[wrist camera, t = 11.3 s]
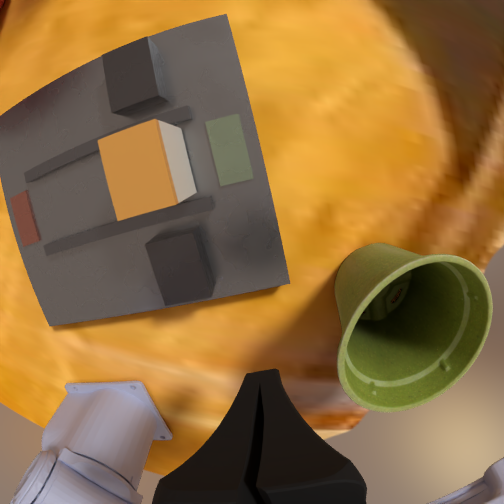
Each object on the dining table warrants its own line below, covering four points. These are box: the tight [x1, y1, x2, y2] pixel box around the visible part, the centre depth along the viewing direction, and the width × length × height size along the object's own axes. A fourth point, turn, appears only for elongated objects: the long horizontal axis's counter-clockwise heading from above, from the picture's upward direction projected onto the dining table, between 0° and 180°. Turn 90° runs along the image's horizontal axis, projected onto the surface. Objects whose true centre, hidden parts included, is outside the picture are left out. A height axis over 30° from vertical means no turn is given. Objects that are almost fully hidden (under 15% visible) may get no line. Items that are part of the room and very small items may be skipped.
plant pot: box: [335, 243, 493, 412], centre depth 18 cm, size 9×9×9 cm
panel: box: [0, 14, 290, 326], centre depth 18 cm, size 20×18×4 cm
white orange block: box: [98, 119, 197, 221], centre depth 15 cm, size 3×4×5 cm
